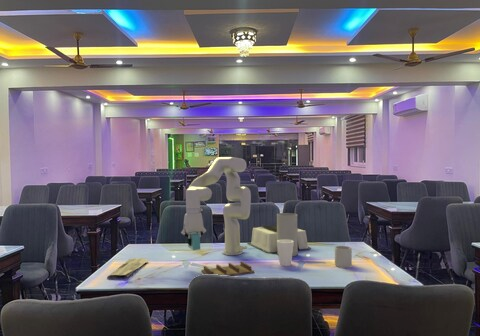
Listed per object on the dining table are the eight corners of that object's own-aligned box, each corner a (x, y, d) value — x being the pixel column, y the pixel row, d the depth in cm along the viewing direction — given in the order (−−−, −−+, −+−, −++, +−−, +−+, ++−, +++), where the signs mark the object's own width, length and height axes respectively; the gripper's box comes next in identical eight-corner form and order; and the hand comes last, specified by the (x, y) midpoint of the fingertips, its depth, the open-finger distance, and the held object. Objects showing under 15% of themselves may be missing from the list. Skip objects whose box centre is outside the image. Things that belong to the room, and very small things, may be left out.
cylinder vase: (274, 256, 228) (274, 215, 228) (280, 251, 240) (280, 212, 240) (294, 257, 223) (294, 216, 223) (299, 253, 235) (299, 213, 235)
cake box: (246, 244, 266) (246, 226, 266) (287, 240, 278) (287, 223, 278) (268, 254, 234) (268, 234, 234) (313, 249, 246) (313, 231, 246)
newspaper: (128, 262, 219) (128, 256, 219) (149, 262, 219) (149, 256, 219) (106, 280, 184) (105, 273, 184) (131, 280, 184) (131, 273, 184)
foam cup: (295, 262, 212) (295, 240, 212) (292, 267, 203) (291, 243, 203) (278, 261, 215) (278, 239, 215) (275, 265, 206) (274, 242, 206)
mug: (342, 268, 199) (342, 249, 199) (330, 264, 207) (330, 246, 207) (357, 265, 204) (357, 247, 204) (345, 262, 212) (345, 244, 212)
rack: (242, 266, 206) (242, 260, 206) (254, 272, 193) (254, 266, 193) (201, 271, 196) (201, 265, 196) (210, 278, 183) (210, 272, 183)
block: (195, 246, 207) (194, 231, 207) (200, 249, 199) (199, 234, 198) (188, 246, 205) (187, 232, 205) (193, 250, 197) (192, 235, 197)
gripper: (205, 209, 208) (206, 241, 209) (176, 211, 201) (177, 245, 202) (210, 210, 201) (211, 244, 202) (179, 213, 195) (180, 248, 195)
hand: (194, 244), depth 202 cm, fingers closed on block, 4 cm apart
